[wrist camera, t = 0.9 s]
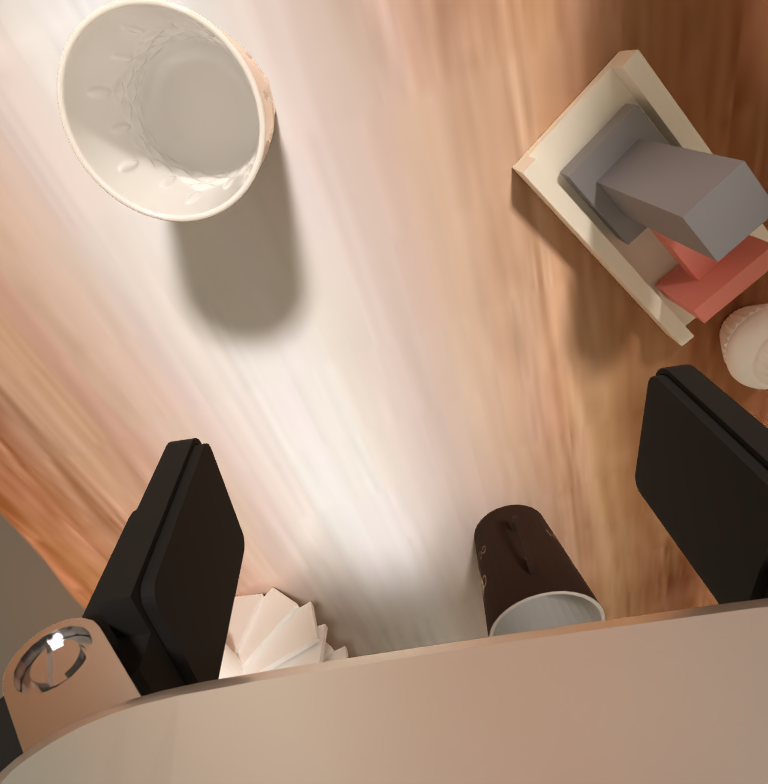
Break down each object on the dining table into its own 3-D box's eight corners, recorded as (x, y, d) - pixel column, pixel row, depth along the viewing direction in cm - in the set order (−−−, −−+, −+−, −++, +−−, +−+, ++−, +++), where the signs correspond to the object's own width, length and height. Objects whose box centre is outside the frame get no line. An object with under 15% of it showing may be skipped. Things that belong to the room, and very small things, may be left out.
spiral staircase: (270, 530, 51) (380, 678, 62) (98, 655, 47) (249, 790, 58) (341, 661, 36) (471, 827, 47) (92, 866, 31) (301, 996, 42)
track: (619, 51, 30) (638, 49, 28) (764, 249, 36) (788, 259, 35) (512, 167, 33) (522, 173, 31) (665, 333, 39) (682, 346, 37)
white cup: (302, 167, 32) (288, 201, 23) (172, 195, 32) (111, 238, 23) (262, 6, 28) (228, -25, 19) (114, 39, 28) (15, 22, 19)
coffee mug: (540, 568, 51) (581, 668, 42) (452, 562, 50) (475, 664, 41) (583, 471, 45) (641, 564, 37) (485, 462, 44) (520, 556, 35)
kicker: (628, 100, 30) (750, 111, 21) (731, 236, 35) (868, 292, 26) (556, 175, 32) (641, 213, 23) (663, 295, 36) (769, 367, 27)
